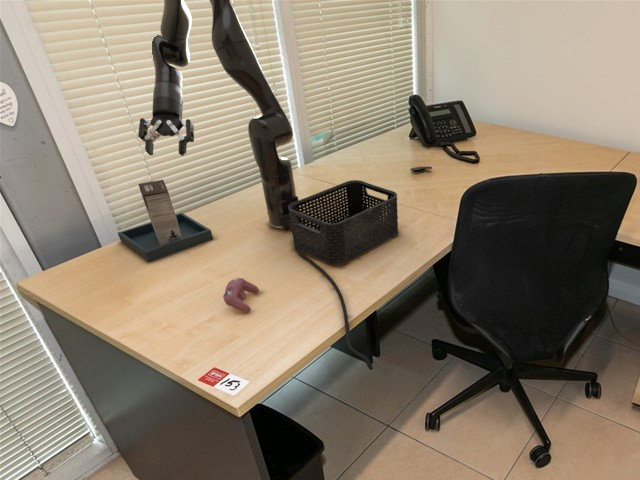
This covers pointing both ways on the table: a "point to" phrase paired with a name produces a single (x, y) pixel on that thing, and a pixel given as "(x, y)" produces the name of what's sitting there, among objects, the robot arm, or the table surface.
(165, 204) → the coffee box
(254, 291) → the video game controller
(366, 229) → the storage bin
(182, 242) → the tray
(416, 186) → the table surface
